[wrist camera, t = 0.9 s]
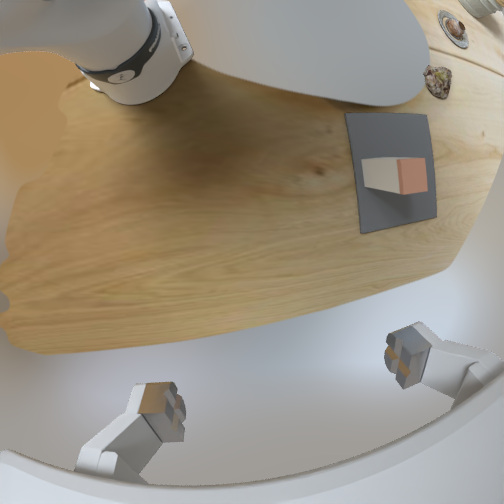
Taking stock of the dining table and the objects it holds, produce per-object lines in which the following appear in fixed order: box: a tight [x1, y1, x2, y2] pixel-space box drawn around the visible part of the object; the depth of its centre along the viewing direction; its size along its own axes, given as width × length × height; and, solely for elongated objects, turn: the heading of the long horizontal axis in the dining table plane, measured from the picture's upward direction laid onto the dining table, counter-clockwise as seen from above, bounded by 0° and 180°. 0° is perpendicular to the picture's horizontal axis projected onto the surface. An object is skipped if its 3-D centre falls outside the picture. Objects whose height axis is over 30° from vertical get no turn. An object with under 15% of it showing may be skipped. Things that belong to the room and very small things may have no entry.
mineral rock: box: [423, 65, 452, 98], centre depth 39 cm, size 11×4×8 cm
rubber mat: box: [344, 113, 437, 233], centre depth 45 cm, size 22×20×1 cm
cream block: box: [361, 157, 428, 195], centre depth 38 cm, size 5×5×12 cm
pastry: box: [438, 10, 468, 48], centre depth 32 cm, size 12×12×5 cm
